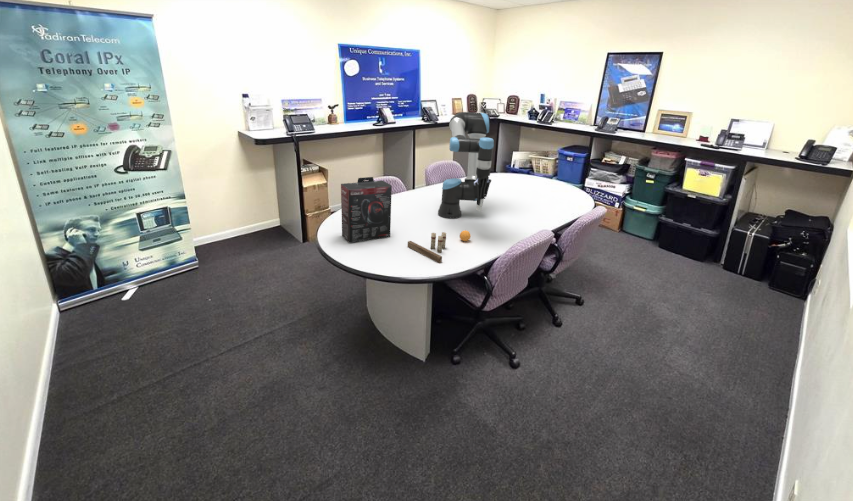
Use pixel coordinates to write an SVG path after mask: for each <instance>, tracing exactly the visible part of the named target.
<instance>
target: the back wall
mask: <svg viewBox="0 0 853 501" xmlns="http://www.w3.org/2000/svg"><path fill="white" fill-rule="evenodd" d="M407 248H409V249H411V250H412V251H414V252H416V253H419V254H421V255H423V256H424V257H427V258H428V259H429V260H430V259H431V261H434V262H436V263H438V264H439V263H440V264H441V263H442V262H443V256H442V255H440V254H438V253H437V252H434V251H432V250H431V249H430V250H429V249H428V248H426V247H424V246H422V245H420V244H418V243H416V242H415V241H412V240H408V241H407Z"/></svg>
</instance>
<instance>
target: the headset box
mask: <svg viewBox="0 0 853 501" xmlns="http://www.w3.org/2000/svg"><path fill="white" fill-rule="evenodd" d="M392 190H393V189H392V185H391V184H390V183H389V182H386V181H384V180H374V176H369V177H368V176H367V177H366V176H365V177H358V178H357V182H348V183H340V201H341V204H340V205H341V206H340V207H341V236H342V238H344V239H345V240H346V241H347V242H348V243H349V244H351V243H359V242H364V241H366V242H367V241H372V240H378V239H384V238H390V237H391V222H392V221H391V220H392V215H391V214H392V192H393V191H392Z"/></svg>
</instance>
